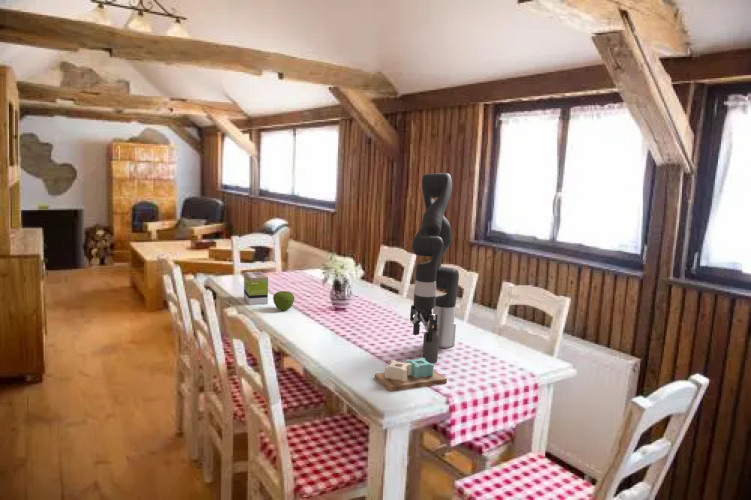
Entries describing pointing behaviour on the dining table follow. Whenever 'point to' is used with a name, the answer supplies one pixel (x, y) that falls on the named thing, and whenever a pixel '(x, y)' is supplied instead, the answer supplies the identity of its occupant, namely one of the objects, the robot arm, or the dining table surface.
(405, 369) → the cream gear
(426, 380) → the board
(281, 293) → the apple
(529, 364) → the dining table surface
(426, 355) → the bottle
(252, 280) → the tea box
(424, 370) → the teal gear
